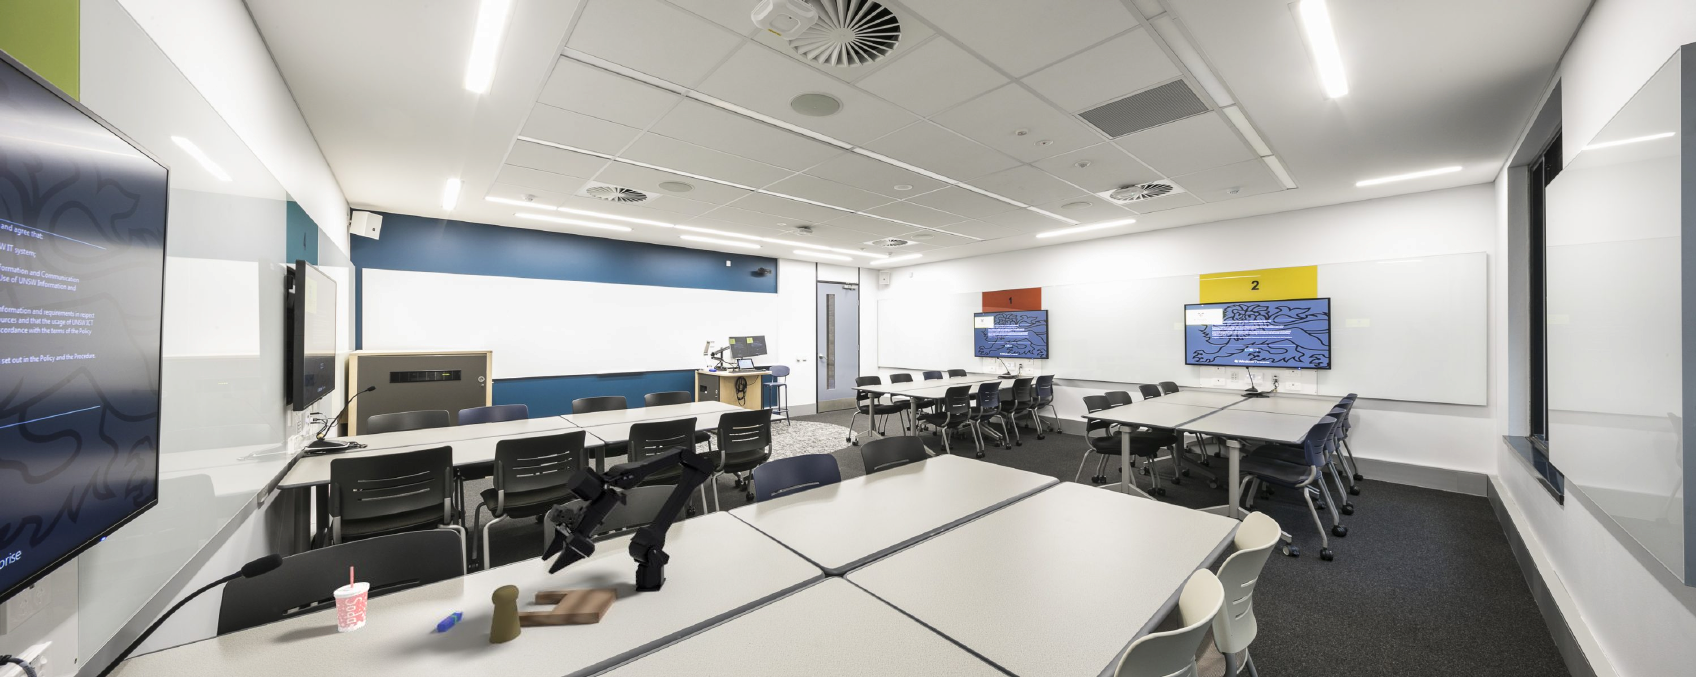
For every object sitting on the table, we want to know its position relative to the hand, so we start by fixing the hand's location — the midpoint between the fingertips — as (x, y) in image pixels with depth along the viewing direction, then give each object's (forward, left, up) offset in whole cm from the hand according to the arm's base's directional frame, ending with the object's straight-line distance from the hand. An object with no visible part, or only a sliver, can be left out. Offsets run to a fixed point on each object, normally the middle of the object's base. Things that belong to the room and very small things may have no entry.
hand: (546, 566), depth 124 cm
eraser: (+22, -1, -14) cm, 26 cm away
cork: (+7, +5, -14) cm, 16 cm away
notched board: (-2, -5, -14) cm, 15 cm away
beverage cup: (+45, -2, -14) cm, 47 cm away
